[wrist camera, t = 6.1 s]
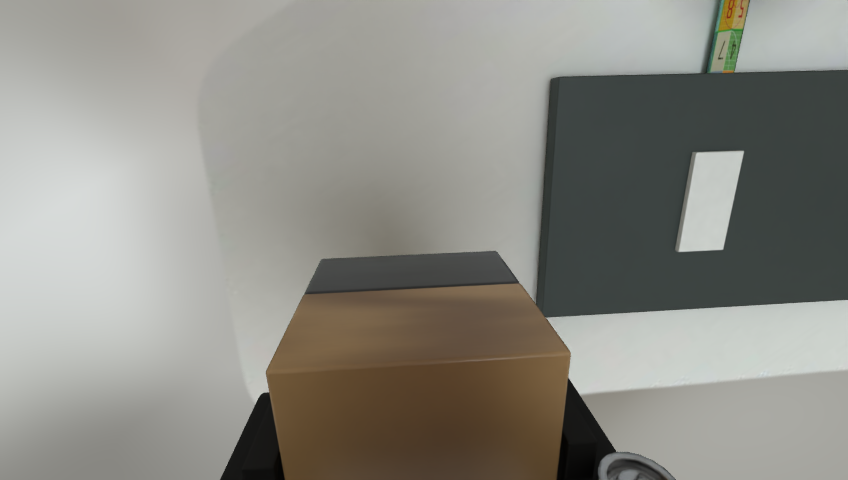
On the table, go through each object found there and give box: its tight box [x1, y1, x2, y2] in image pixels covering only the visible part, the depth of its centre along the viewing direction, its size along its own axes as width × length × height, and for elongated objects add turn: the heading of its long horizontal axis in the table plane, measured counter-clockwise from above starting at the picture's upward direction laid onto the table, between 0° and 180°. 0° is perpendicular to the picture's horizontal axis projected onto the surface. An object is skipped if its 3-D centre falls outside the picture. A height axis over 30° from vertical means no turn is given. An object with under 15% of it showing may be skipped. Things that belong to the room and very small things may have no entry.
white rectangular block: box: [675, 150, 744, 252], centre depth 19 cm, size 2×5×1 cm, turn 2°
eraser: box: [266, 251, 571, 480], centre depth 9 cm, size 4×7×4 cm, turn 1°
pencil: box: [706, 0, 750, 73], centre depth 18 cm, size 1×1×18 cm
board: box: [536, 70, 848, 317], centre depth 20 cm, size 20×12×1 cm, turn 92°
